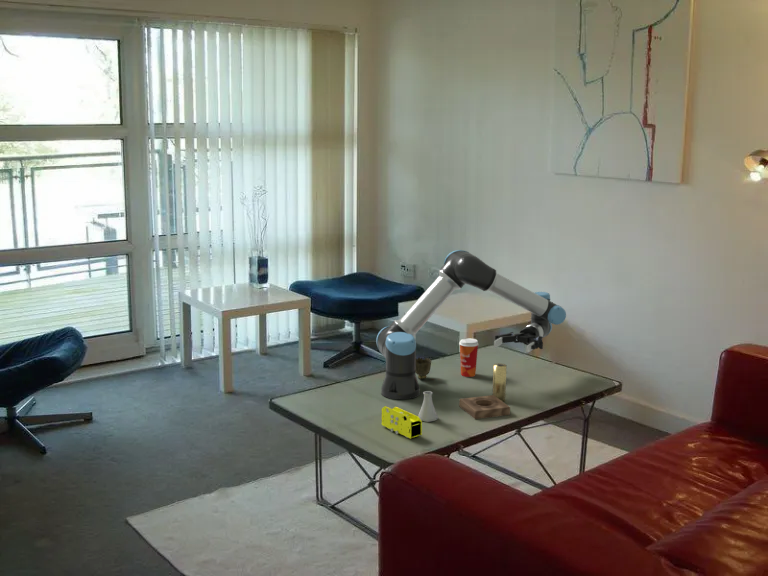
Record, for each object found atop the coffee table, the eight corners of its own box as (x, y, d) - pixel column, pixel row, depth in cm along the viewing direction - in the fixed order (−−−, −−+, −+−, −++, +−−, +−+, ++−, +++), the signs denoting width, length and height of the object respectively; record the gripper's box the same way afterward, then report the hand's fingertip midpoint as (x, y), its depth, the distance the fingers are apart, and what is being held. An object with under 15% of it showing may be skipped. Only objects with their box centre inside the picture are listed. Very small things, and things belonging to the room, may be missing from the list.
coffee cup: (454, 373, 358) (455, 339, 355) (471, 370, 361) (472, 337, 358) (464, 379, 351) (465, 344, 348) (481, 376, 354) (482, 342, 351)
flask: (413, 418, 306) (413, 392, 304) (427, 413, 311) (427, 387, 309) (428, 423, 301) (428, 397, 299) (441, 418, 306) (442, 392, 304)
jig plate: (475, 419, 306) (475, 411, 305) (459, 406, 319) (459, 398, 318) (509, 414, 310) (510, 407, 309) (493, 402, 323) (493, 394, 322)
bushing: (495, 402, 323) (496, 367, 320) (490, 398, 327) (491, 363, 324) (507, 401, 324) (508, 366, 321) (501, 397, 329) (502, 362, 326)
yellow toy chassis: (380, 427, 298) (380, 404, 296) (393, 423, 302) (393, 401, 300) (409, 441, 286) (409, 417, 284) (422, 437, 289) (422, 414, 288)
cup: (432, 376, 354) (433, 358, 352) (429, 381, 347) (429, 363, 346) (415, 374, 356) (415, 356, 354) (411, 380, 349) (411, 361, 347)
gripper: (559, 347, 342) (540, 360, 324) (502, 339, 355) (481, 351, 337) (560, 329, 341) (541, 342, 323) (503, 321, 353) (481, 333, 335)
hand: (510, 347), depth 330 cm, fingers open, 13 cm apart
